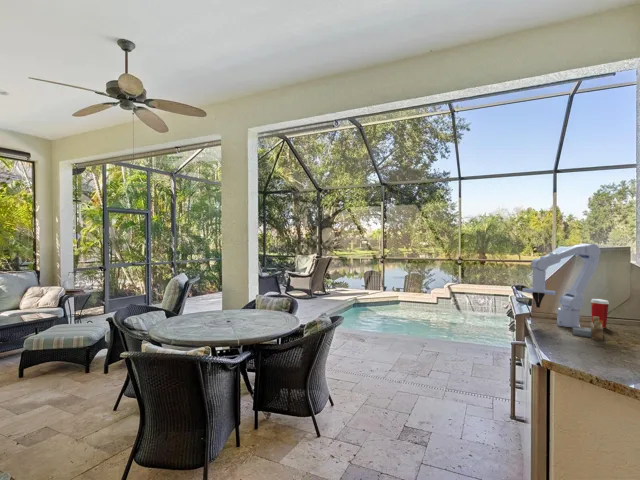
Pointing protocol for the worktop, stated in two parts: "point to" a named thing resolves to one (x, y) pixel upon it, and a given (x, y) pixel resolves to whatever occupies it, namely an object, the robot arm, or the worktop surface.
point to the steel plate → (582, 331)
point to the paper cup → (600, 310)
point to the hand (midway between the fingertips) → (538, 307)
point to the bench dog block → (596, 329)
